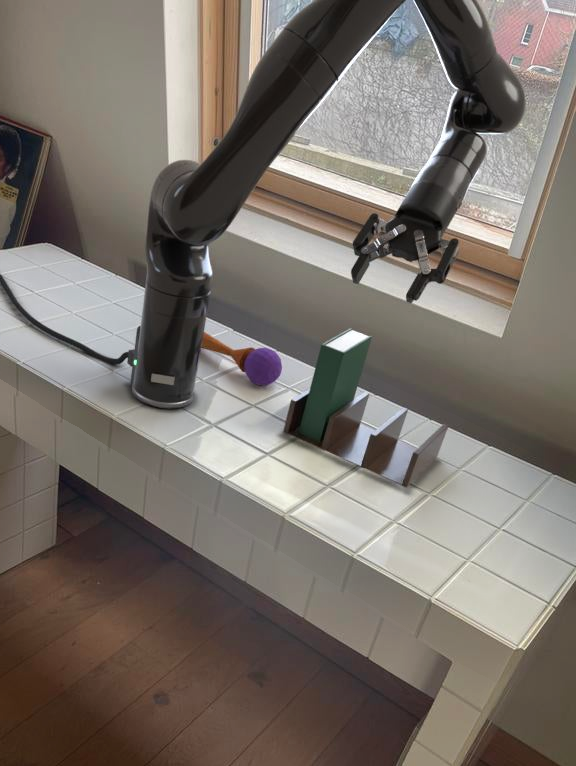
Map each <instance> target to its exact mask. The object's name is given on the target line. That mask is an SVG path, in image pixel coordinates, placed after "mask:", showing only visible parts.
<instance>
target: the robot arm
mask: <svg viewBox="0 0 576 766" xmlns="http://www.w3.org/2000/svg"><path fill="white" fill-rule="evenodd" d="M406 1H407V0H313V1H311V2H310V3H308V4H307V5H305V7H303V8H302V9H301V10H299V11H298V12H297V13H296V14H295V15H294V16H292V18H291V19H290V20H289V21H288V22H287V23H286V25H285V26H284V27H283V28H282V30H281V31H280V32H279V34H278V35H277V36H276V38H275V39H274V40H273V42H272V43H271V44H270V46H268V48H267V49H266V51H264V53H263V55H262V56H261V57H260V59H259V61H258V62H257V64H255V65H256V66H255V67H254V69H253V72H252V73H251V76H250V77H249V80H248V83H247V85H246V87H245V90H244V93H243V95H242V98H241V101H240V104H239V106H238V108H237V111H236V113H235V116H234V119H233V121H232V122H231V124H230V126H229V128H228V129H227V130H226V133H225V134H224V136H223V137H222V138H221V140H220V141H219V142H218V143H217V145H215V147H214V148H213V150H212V151H211V152H210V153H209V154H208V155H207V157H206V158H205V159H204V160H203V161H202V163H199V162H197V161H195V160H192V159H179V160H175V161H173V162H170V163H169V164H167V165H166V166H165V167H164V168H163V169H161V170H160V172H159V173H158V175H157V176H156V178H155V180H154V183H153V185H152V188H151V192H150V196H149V197H150V198H149V204H148V212H147V213H148V214H147V222H146V223H147V224H146V236H145V247H144V248H145V251H144V252H145V255H144V256H145V264H146V277H145V278H146V279H145V285H144V286H145V287H144V294H143V303H142V309H141V319H140V325H138V326H137V328H136V333H135V341H134V349H128V351H124V352H123V353H122V354H121V355H120V356H119V357H118V358H113V357H109V356H105V355H103V354H101V353H99V352H98V351H95V350H93V349H92V348H90V347H89V346H87V345H85V344H83V343H81V342H79V341H77V340H75V339H73V338H70V337H68V336H66V335H64V334H62V333H60V332H58V331H55V330H53V329H52V328H50V327H48V326H47V325H45V324H43V323H41V322H40V321H39V320H37V319H36V318H35V317H33V316H32V315H31V314H30V313H29V312H27V311H26V309H24V308H23V307H24V306H22V305H21V304H20V303H19V302H18V300H17V298H16V297H15V294H14V293H13V291H12V289H11V288H10V287H9V285H8V283H7V281H6V280H5V278H4V277H3V276H2V274H1V273H0V284H1V286H2V288H3V289H4V291H5V293H6V294H7V296H8V298H9V300H10V301H11V304H12V305H13V306H14V308H15V309H16V310H17V311H18V312H19V313H20V315H22V316H23V317H24V318H25V319H26V320H27V321H28V322H29V323H30V324H32V325H33V326H35V328H38V329H39V330H41V331H42V332H44V333H46V334H48V335H50V336H51V337H53V338H56V339H57V340H59V341H62V342H64V343H66V344H68V345H70V346H72V347H75V348H77V349H79V350H81V351H83V352H84V353H86V354H87V355H89V356H91V357H93V358H95V359H98V360H100V361H102V362H105V363H108V364H111V365H120V364H122V363H124V361H125V360H127V361H126V363H127V364H128V365H129V366H130V367H131V375H130V384H129V385H130V386H131V393H132V395H133V396H134V397H135V399H136V400H138V401H140V402H142V403H144V404H145V405H148V406H151V407H154V408H161V409H169V410H170V409H171V410H173V409H181V408H184V407H187V406H189V405H190V404H191V403H192V402H193V400H194V396H195V387H196V380H197V374H198V369H199V362H200V358H201V357H200V356H201V352H202V348H201V346H202V340H203V334H204V332H205V328H206V322H207V316H208V309H209V305H210V297H211V292H212V286H213V279H214V271H213V267H212V263H211V259H210V248H209V245H210V244H212V243H213V242H214V241H216V240H217V239H219V238H220V237H221V236H222V235H223V234H224V233H225V232H226V231H227V229H228V228H229V227H230V225H232V223H233V222H234V220H235V219H236V217H237V215H238V214H239V212H240V211H241V209H242V208H243V207H244V205H245V204H246V202H247V200H248V199H249V197H250V196H251V194H252V192H253V191H254V189H255V188H256V187H257V185H258V184H259V182H260V181H261V179H262V178H263V176H264V175H265V173H266V172H267V170H268V169H269V168H270V166H271V165H272V164H273V163H274V161H275V160H276V159H277V157H278V156H279V155H280V154H281V153H282V152H283V150H284V149H285V148H286V146H287V145H288V144H289V143H290V142H291V140H292V139H293V138H294V136H295V135H296V134H297V133H298V131H299V130H300V129H301V128H302V126H303V125H304V124H305V123H306V121H308V119H309V118H310V116H311V115H312V114H313V113H314V112H315V111H317V109H318V108H319V106H320V105H321V104H322V103H323V102H324V100H325V99H326V98H327V97H328V95H329V94H330V93H331V92H332V90H333V89H334V88H335V86H336V85H337V84H338V83H339V82H340V81H341V79H342V77H343V76H344V75H345V73H346V72H347V71H348V70H349V68H350V67H351V65H352V64H353V63H354V62H355V61H356V59H357V58H358V57H359V56H360V55H361V53H362V52H363V51H364V50H365V48H367V46H368V45H369V44H370V43H371V41H372V40H373V39H374V38H375V37H376V36H377V34H378V33H379V32H380V31H381V30H382V28H383V27H384V26H385V25H386V23H387V22H388V21H389V20H390V19H391V18H392V16H393V15H394V14H395V13H396V12H397V11H398V9H400V8H401V6H402V5H403V4H404V3H405V2H406ZM413 2H414V4H415V6H416V8H417V10H418V12H419V14H420V16H421V18H422V20H423V22H424V24H425V26H426V29H427V30H428V31H427V32H428V33H429V35H430V37H431V40H432V42H433V45H434V47H435V49H436V52H437V55H438V58H439V61H440V63H441V65H442V68H443V71H444V73H445V76H446V78H447V80H448V82H449V83H450V85H451V86H452V87H453V88H454V89H456V91H455V92H454V94H453V95H452V97H451V99H450V103H449V105H448V111H447V114H446V115H447V116H446V119H445V123H444V126H443V129H442V132H441V137H440V140H439V142H438V144H437V145H436V147H435V149H434V150H433V151H432V154H431V155H430V157H429V159H428V161H427V163H426V164H425V165H424V166H423V167H422V169H421V170H420V172H419V173H418V174H417V176H416V178H415V179H414V181H413V183H412V185H411V186H410V188H409V189H408V191H407V193H406V195H405V196H404V198H403V200H402V202H401V204H400V205H399V206H398V208H397V211H396V212H395V214H394V216H393V217H392V218H391V219H390V220H388V221H386V220H384V219H381V218H380V217H379V214H378V213H376V212H374V213H372V214H370V215H369V217H368V218H367V220H366V221H365V223H364V224H363V226H362V227H361V229H360V230H359V232H358V233H357V234H356V237H355V238H354V239H353V241H352V248H353V253H354V255H355V256H356V257H357V259H356V261H355V262H354V264H353V266H352V268H351V270H350V276H351V279H352V283H353V284H356V285H359V284H360V282H361V281H362V279H363V277H364V275H365V274H366V272H367V270H368V268H369V267H370V265H371V263H372V262H373V261H376V260H377V259H379V258H380V259H383V258H385V257H387V256H389V255H391V256H392V257H393V258H399V259H403V260H405V261H407V262H409V263H413V262H417V264H418V269H419V272H420V273H419V272H418V273H417V275H416V276H415V277H414V279H413V281H412V283H411V285H410V287H409V288H408V290H407V292H406V294H405V301H406V303H408V304H413V302H414V301H415V302H416V301H418V300H419V299H420V298H421V296H422V295H423V293H424V290H425V289H426V287H427V285H428V284H429V283H437V284H439V285H442V284H444V283H445V281H446V279H447V277H448V275H449V273H450V270H451V269H452V267H453V265H454V263H455V261H456V259H457V256H458V254H459V251H460V247H459V246H460V245H459V243H460V242H459V239H458V238H455V237H454V238H451V239H450V240H448V239H444V238H443V236H444V235H445V233H446V231H447V229H448V228H449V226H450V224H451V223H452V221H453V219H454V218H455V216H456V214H457V213H458V210H460V208H461V207H462V204H463V201H464V200H465V198H466V195H467V193H468V191H469V188H470V186H471V184H472V183H473V180H474V179H475V177H476V176H477V174H478V172H479V170H480V168H481V167H482V165H483V163H484V160H485V159H486V156H487V154H488V153H487V152H488V148H487V143H486V141H485V140H484V138H483V137H482V136H481V134H483V135H484V134H485V135H503V134H508V133H511V132H512V131H513V130H515V129H516V128H517V127H518V126H519V125H520V124H521V122H522V120H523V119H524V116H525V111H526V107H527V98H526V93H525V88H524V87H523V84H522V83H521V80H520V78H519V77H518V75H517V74H516V73H515V72H514V71H513V69H512V67H511V66H510V65H509V63H508V62H507V61H506V60H505V58H504V57H503V56H502V55H501V54H500V53H499V52H498V49H497V47H496V43H495V40H494V37H493V34H492V31H491V30H492V29H491V27H490V25H489V22H488V20H487V19H488V18H487V17H486V14H485V12H484V10H483V8H482V6H481V5H480V3H479V1H478V0H413ZM383 231H385V233H384V234H381V235H380V236H378V235H379V234H380V233H381V232H383ZM375 236H378V237H377V238H375V240H374V241H373V242H371V241H372V240H373V238H374V237H375ZM438 250H440V251H441V252H440V253H441V258H440V261H439V262H438V264H437V266H436V268H431V264H430V261H429V255H430V254H432V253H434V252H436V251H438Z"/></svg>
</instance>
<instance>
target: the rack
mask: <svg viewBox="0 0 576 766" xmlns="http://www.w3.org/2000/svg"><path fill="white" fill-rule="evenodd" d="M309 391H310V387H309V388H307V389H306V390H304V391H303V392H301V393H300V394H298V395H297V396H295V397H293V398H292V399H291V400H290V403H289V407H288V411H287V416H286V419H285V422H284V428H283V433H285V434H288V435H290V436H292V437H294V438H296V439H298V440H301V441H303V442H305V443H308V444H310V445H312V446H314V447H316V448H319V449H321V450H323V451H325V452H328V453H330V454H332V455H334V456H336V457H339V458H341V459H343V460H345V461H347V462H350V463H352V464H354V465H356V466H358V467H360V468H363V469H365V470H368V471H370V472H371V473H374V474H376V475H378V476H380V477H382V478H385V479H388V480H390V481H392V482H394V483H396V484H398V485H400V486H403V487H405V488H408V487H409V486H410V485H411V484H412V483H413V482H414V480H416V479H417V478H418V477H419V476H420V475H422V473H423V472H424V471H425V470H426V469H427V468H428V467H429V466H430V465H431V463H433V462H434V460H436V459H437V457H438V456H439V453H440V450H441V448H442V445H443V442H444V439H445V437H446V434H447V432H448V429H449V425H448V424H445V423H443V424H442V425H441V426H439V427H438V429H436V430H435V431H434V432H433V433H432V434H431V435H430V436H429V437H428V438H426V440H425V441H424V442H423V443H422V444H421V445H420V446H418V447H416V446H413V445H411V444H409V443H406V442H404V441H401V440H400V439H399V437H400V435H401V432H402V429H403V426H404V423H405V421H406V418H407V414H408V412H409V408H406V407H402V408H401V409H400V410H399V411H397V412H396V413H395V414H393V415H392V416H391V417H389V419H387V420H386V421H385V422H384V423H382V424H381V425H380V426H379V427H377V428H376V429H374V428H371V427H369V426H366V425H365V424H362V421H363V416H364V414H365V411H366V407H367V404H368V401H369V398H370V392H367V391H364V392H362V393H361V394H360V395H358V396H357V397H354V400H352V401H351V402H350V403H348V404H347V405H345V406H344V407H343V408H341V409H340V410H338V411H337V412H336V413H334V414H333V415H331V416H330V418H329V422H328V426H327V429H326V433H325V436H324V439H323V440H322V441H320V442H318V441H316V440H313V439H311V438H309V437H307V436H304V435H302V434H300V433H299V430H300V426H301V422H302V418H303V414H304V410H305V406H306V403H307V399H308V395H309Z"/></svg>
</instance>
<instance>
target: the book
mask: <svg viewBox="0 0 576 766" xmlns="http://www.w3.org/2000/svg"><path fill="white" fill-rule="evenodd" d="M372 339H373V335H367V334H364V333H361V332H359V331H356V330H353V328H352V327H350V328H348V329H346V330H344V331H342V332H341V333H339V334H337V335H336V336H335V335H334V337H332V338H330V339H329V340H326V341H325V342H323V343H321V345H320V349H319V353H318V356H317V360H316V365H315V369H314V373H313V376H312V380H311V384H310V387H309V388H310V391H309V395H308V399H307V403H306V406H305V410H304V414H303V418H302V422H301V426H300V430H299V433H300V434H302V435H304V436H307V437H309V438H311V439H313V440H316V441H318V442H320V441H322V440H323V439H324V436H325V433H326V429H327V426H328V422H329V418H330V416H331V415H333V414H334V413H336V412H337V411H338V410H340V409H341V408H343V407H344V406H345V405H347V404H348V403H350V402H351V401H352V400H354V399H355V398H356V393H357V391H358V390H357V389H358V386H359V383H360V380H361V375H362V373H363V369H364V365H365V362H366V359H367V356H368V352H369V349H370V346H371V342H372Z"/></svg>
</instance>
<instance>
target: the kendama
mask: <svg viewBox="0 0 576 766" xmlns="http://www.w3.org/2000/svg"><path fill="white" fill-rule="evenodd" d="M201 349H203V350H204V349H205V350H207V351H211V352H215V353H218V354H222V355H226V356H230V357H231V358H232V359H233V361H234V362H235V364H236V366H237V367H238V368H239V370H240V372H242V373H245V375H246V377H247V378H248V379H249V381H250V382H251V383H253V384H255V385H258V386H269V385H272V384H273V383H275V382H276V381H277V380H278V379H279V378H280V376H281V374H282V370H283V364H282V359H281V357H280V355H279V354H278V353H277V352H276V351H275V350H274V349H271V348H267V347H257V348H254V347H245V348H239V349H233V348H232V347H230V346H228V345H226V344H225V343H223V342H221V341H220V340H218V339H217V338H215V337H213V336H212V335H210V334H209V333H207V332H205V331H204V334H203V340H202V346H201Z"/></svg>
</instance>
